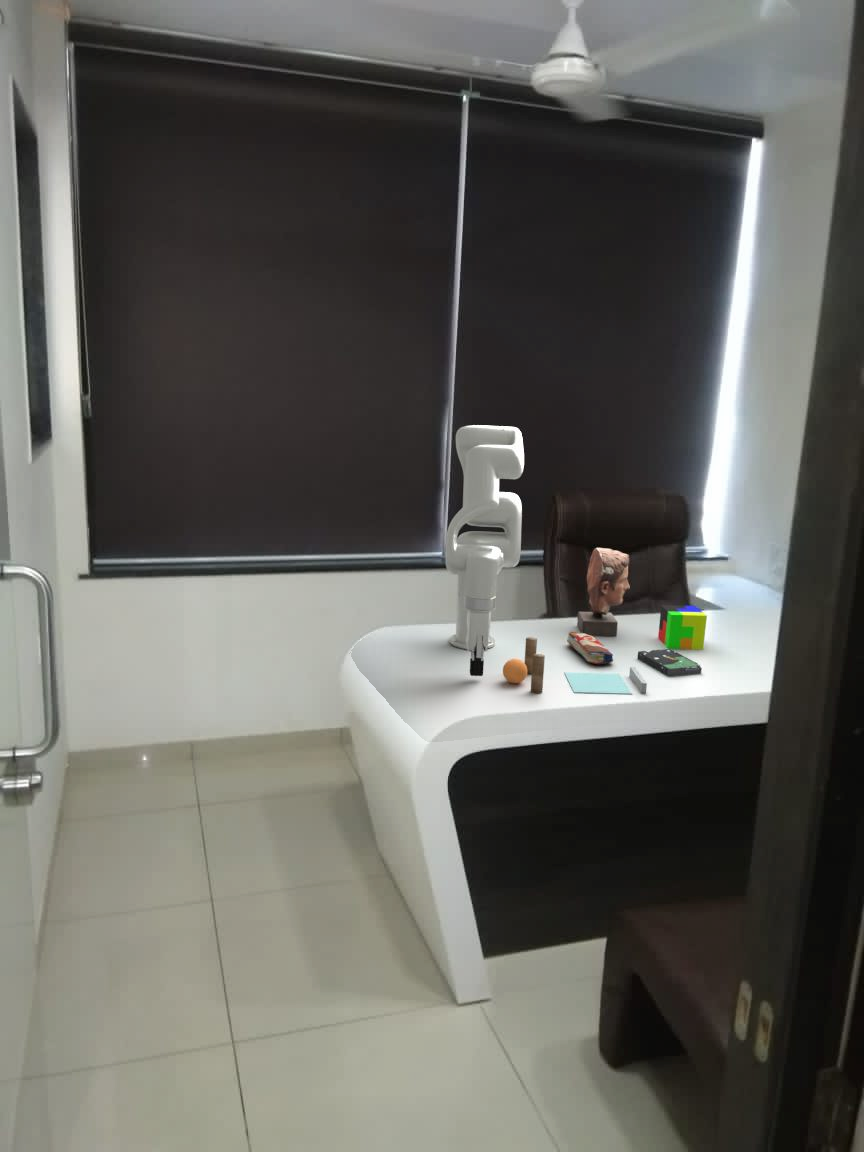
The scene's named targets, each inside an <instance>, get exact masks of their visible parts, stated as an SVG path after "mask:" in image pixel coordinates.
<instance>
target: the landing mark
mask: <svg viewBox="0 0 864 1152" xmlns="http://www.w3.org/2000/svg"><path fill="white" fill-rule="evenodd" d="M564 675H565V678H566V679H567V682H568V683H569V685H570V688H571V690H572V691H573V693H574V694H606V695H608V694H609V695H612V694H613V695H633V692H632V691H631V690H630V688H629V686H628V685H627V684H626V682H625V681H624V679H623V678H622V676H621V675H620V673H606V672H605V673H604V672H603V673H602V672H601V673H600V672H599V673H597V672H564Z"/></svg>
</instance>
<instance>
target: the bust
mask: <svg viewBox="0 0 864 1152" xmlns="http://www.w3.org/2000/svg"><path fill="white" fill-rule="evenodd" d="M629 565H630V555H629V554H627V553H623V552H622V551H619V550H614V549H612V548H605V547H604V548H603V547H596V548H594V549H593V550H592V553H591V556H590V558H589V564H588V568H587V574H586V583H587V594H588V595H589V601H588V602H589V604H590V605H591V610H592V611H578V613H577V618H576V619H577V623H576V624H577V628H578V630H579V631H580V633H584V634H588V635H591V636H593V637H594V636H595V637H613V638H614V637H617V635H618V634H617V633H618V623H619V622H618V620H617V619H616V617H615V616H614V615H613V613H612V612H609V611H610V608H611V607H612V606H620V605H622V604H623V602H624V598H623V597H624V594H625V593H626V591H629V590H630V589H631V587H630V584H629V581H628V576H629Z"/></svg>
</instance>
